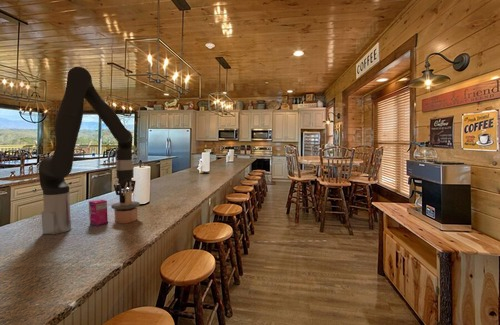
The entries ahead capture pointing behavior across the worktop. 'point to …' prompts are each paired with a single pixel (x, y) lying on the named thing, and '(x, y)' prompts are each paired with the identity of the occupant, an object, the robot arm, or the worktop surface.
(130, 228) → the worktop surface
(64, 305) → the worktop surface
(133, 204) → the lid
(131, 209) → the bowl
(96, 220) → the supplement box
